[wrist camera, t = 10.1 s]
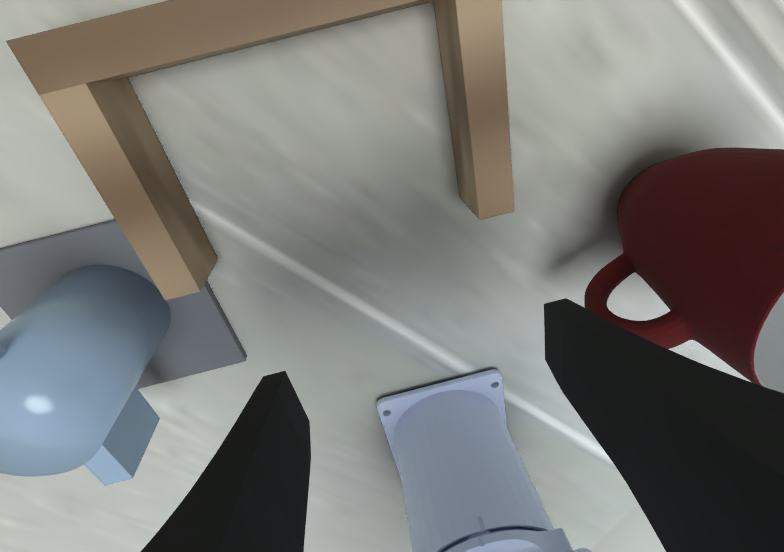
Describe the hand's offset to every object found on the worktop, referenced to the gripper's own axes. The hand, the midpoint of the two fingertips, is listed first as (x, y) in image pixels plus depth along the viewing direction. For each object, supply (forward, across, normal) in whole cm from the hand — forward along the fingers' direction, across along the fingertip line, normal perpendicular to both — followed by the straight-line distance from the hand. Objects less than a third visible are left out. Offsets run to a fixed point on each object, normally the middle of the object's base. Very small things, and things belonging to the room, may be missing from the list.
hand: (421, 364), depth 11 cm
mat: (+10, +14, +1) cm, 17 cm away
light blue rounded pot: (+10, +14, +1) cm, 17 cm away
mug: (+10, -13, +3) cm, 17 cm away
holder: (+10, +2, -4) cm, 11 cm away
